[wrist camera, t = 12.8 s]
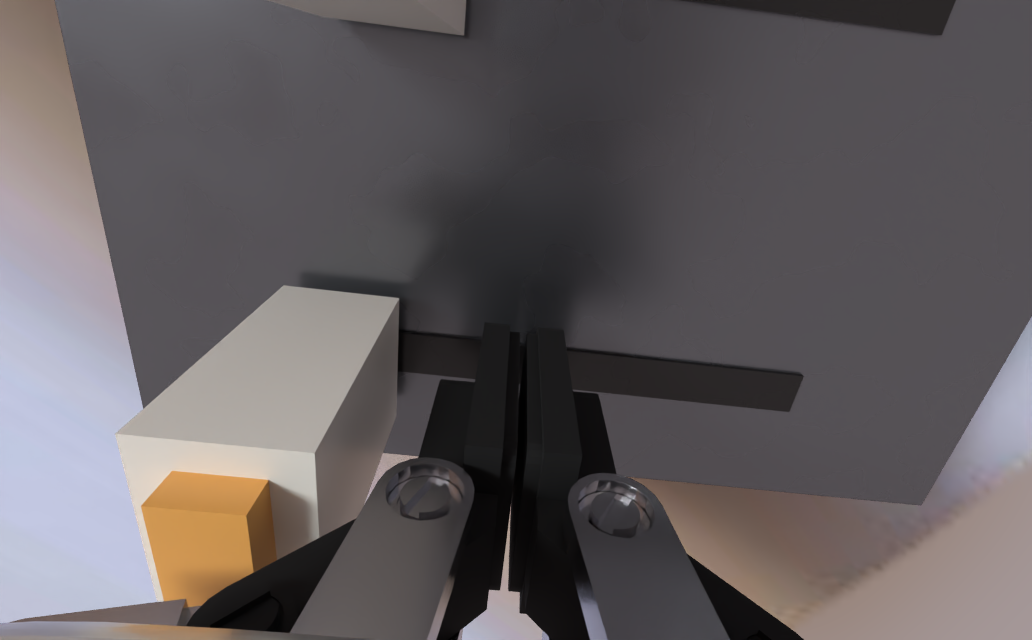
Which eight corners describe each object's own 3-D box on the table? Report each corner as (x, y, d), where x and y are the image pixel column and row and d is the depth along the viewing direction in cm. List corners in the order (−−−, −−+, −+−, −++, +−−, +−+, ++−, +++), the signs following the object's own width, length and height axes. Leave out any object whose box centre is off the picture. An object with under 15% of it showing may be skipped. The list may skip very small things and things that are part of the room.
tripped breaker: (399, 298, 11) (295, 487, 6) (396, 415, 12) (308, 655, 7) (283, 285, 11) (76, 466, 6) (292, 405, 12) (129, 640, 7)
